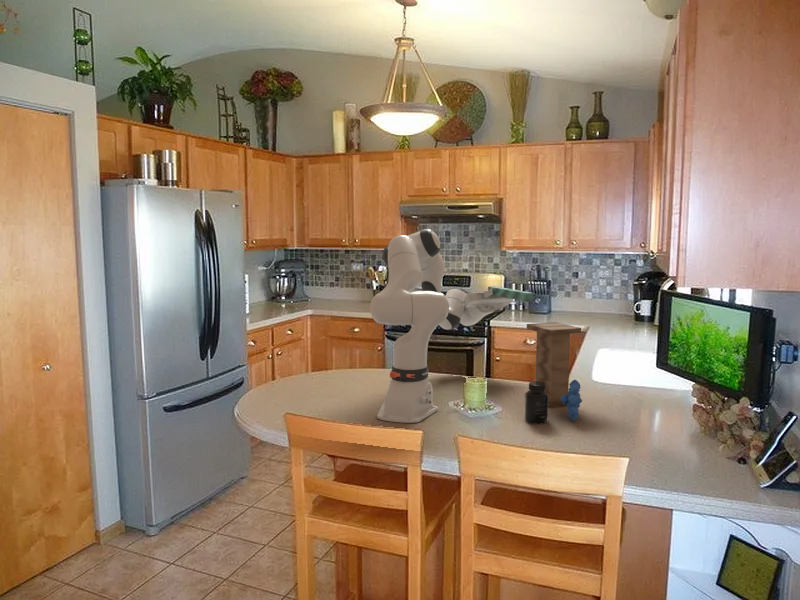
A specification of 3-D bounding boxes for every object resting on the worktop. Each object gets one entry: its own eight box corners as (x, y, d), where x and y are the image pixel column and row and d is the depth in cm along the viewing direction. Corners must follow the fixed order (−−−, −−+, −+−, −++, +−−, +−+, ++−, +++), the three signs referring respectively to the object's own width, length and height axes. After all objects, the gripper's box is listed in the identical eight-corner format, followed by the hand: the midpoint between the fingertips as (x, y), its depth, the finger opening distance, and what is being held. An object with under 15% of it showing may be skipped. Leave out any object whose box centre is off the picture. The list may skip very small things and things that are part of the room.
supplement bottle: (520, 418, 185) (521, 381, 184) (539, 416, 187) (540, 379, 186) (532, 425, 179) (533, 386, 177) (552, 422, 181) (553, 384, 180)
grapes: (561, 411, 192) (562, 375, 191) (582, 413, 190) (583, 377, 189) (557, 422, 181) (558, 384, 180) (580, 425, 179) (581, 386, 178)
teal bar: (487, 294, 233) (488, 286, 232) (494, 293, 234) (494, 286, 233) (525, 301, 209) (525, 293, 208) (532, 301, 210) (533, 292, 210)
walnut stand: (525, 396, 209) (526, 324, 206) (553, 393, 213) (555, 321, 210) (549, 407, 196) (551, 330, 193) (578, 403, 201) (581, 328, 197)
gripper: (457, 298, 238) (472, 283, 226) (501, 296, 245) (517, 281, 234) (460, 313, 236) (475, 299, 224) (505, 310, 243) (522, 296, 231)
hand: (497, 290), depth 229 cm, fingers closed on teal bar, 3 cm apart
